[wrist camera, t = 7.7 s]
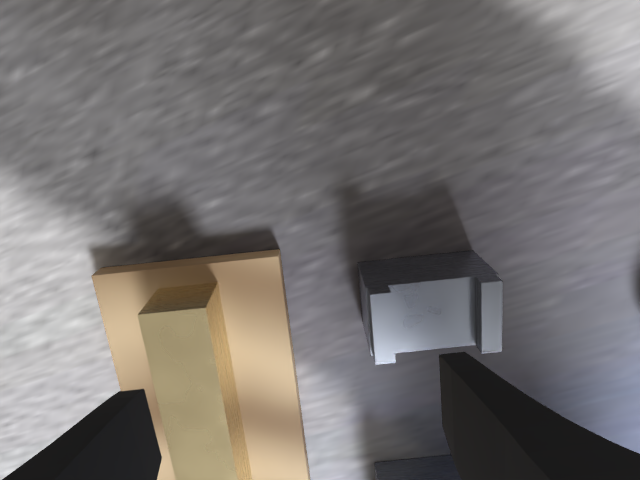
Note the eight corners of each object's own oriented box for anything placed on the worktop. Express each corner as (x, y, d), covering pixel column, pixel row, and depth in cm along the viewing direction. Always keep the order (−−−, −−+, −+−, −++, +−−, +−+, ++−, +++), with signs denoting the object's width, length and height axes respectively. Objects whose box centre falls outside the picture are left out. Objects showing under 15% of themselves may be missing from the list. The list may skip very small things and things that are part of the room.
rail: (262, 534, 25) (257, 583, 22) (211, 539, 25) (201, 589, 22) (217, 282, 21) (205, 307, 18) (158, 288, 21) (137, 314, 18)
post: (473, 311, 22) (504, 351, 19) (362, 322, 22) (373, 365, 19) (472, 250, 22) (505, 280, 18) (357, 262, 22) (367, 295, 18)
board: (316, 529, 26) (317, 546, 25) (169, 544, 26) (164, 561, 25) (279, 249, 21) (278, 256, 20) (101, 267, 21) (91, 275, 20)
